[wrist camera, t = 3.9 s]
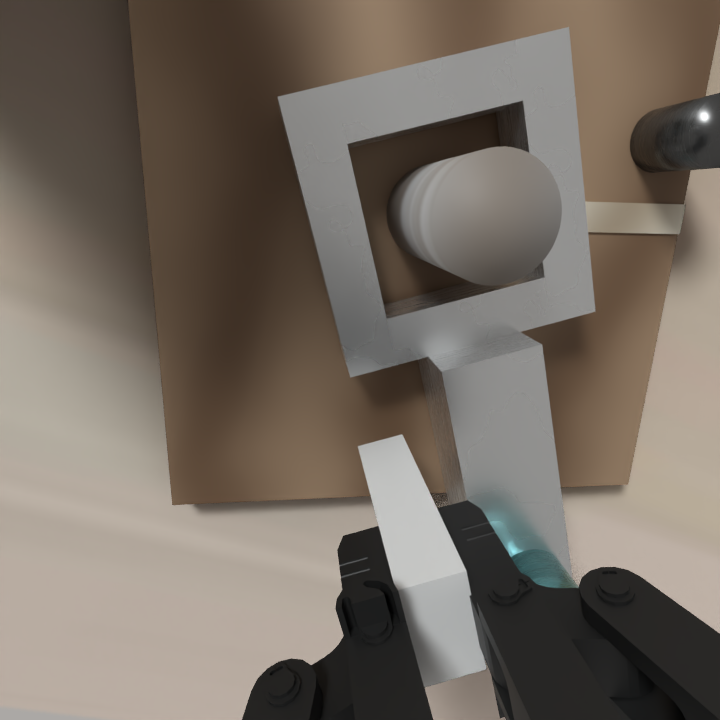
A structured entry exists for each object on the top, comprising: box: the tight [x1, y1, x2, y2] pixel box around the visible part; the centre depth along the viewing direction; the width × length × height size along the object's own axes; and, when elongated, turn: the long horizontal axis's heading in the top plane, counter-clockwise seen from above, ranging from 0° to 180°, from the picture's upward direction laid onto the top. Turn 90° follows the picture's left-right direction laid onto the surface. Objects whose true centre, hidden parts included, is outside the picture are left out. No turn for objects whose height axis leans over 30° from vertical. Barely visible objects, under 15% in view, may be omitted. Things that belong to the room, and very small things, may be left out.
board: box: [128, 0, 720, 505], centre depth 15 cm, size 18×22×7 cm
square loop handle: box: [278, 27, 595, 588], centre depth 15 cm, size 17×8×8 cm, turn 14°
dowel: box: [630, 93, 720, 173], centre depth 17 cm, size 2×2×4 cm
